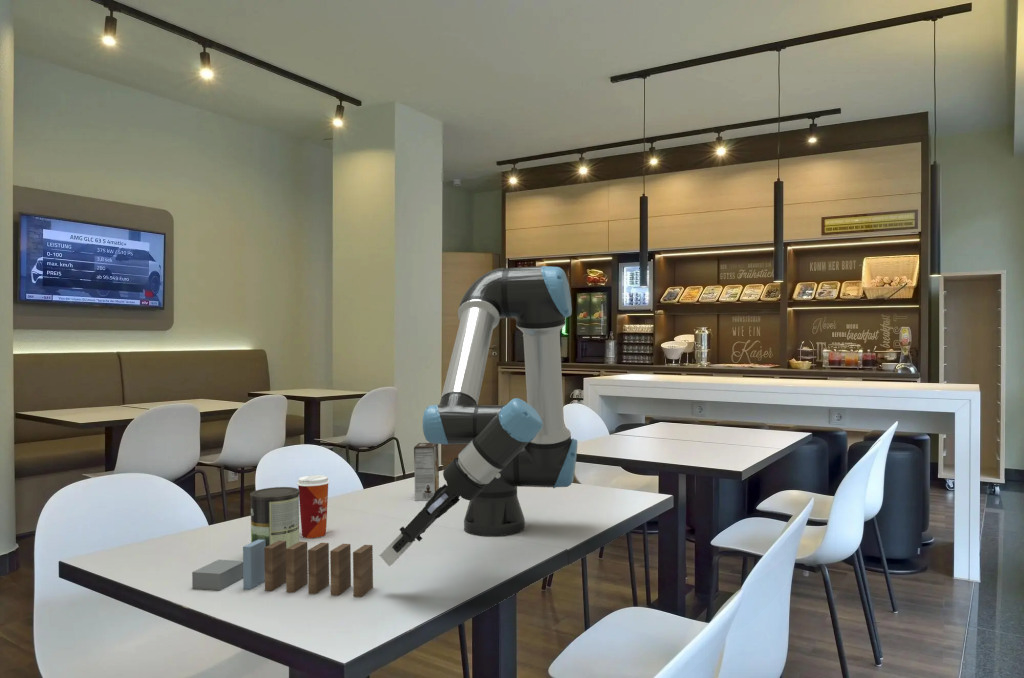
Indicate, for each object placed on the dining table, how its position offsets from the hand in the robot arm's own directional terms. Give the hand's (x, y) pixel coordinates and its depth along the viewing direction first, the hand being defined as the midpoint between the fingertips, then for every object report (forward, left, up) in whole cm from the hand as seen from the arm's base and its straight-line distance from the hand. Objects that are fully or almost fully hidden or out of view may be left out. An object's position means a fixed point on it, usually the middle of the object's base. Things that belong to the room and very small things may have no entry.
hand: (386, 559), depth 128 cm
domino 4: (+14, 0, -6) cm, 15 cm away
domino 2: (+23, 0, -6) cm, 23 cm away
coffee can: (+34, -18, -6) cm, 39 cm away
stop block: (+35, 0, -6) cm, 35 cm away
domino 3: (+18, 0, -6) cm, 19 cm away
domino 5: (+9, 0, -6) cm, 11 cm away
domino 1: (+27, 0, -6) cm, 28 cm away
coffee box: (+21, -80, -6) cm, 83 cm away
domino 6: (+5, 0, -6) cm, 8 cm away
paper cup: (+34, -35, -6) cm, 49 cm away
